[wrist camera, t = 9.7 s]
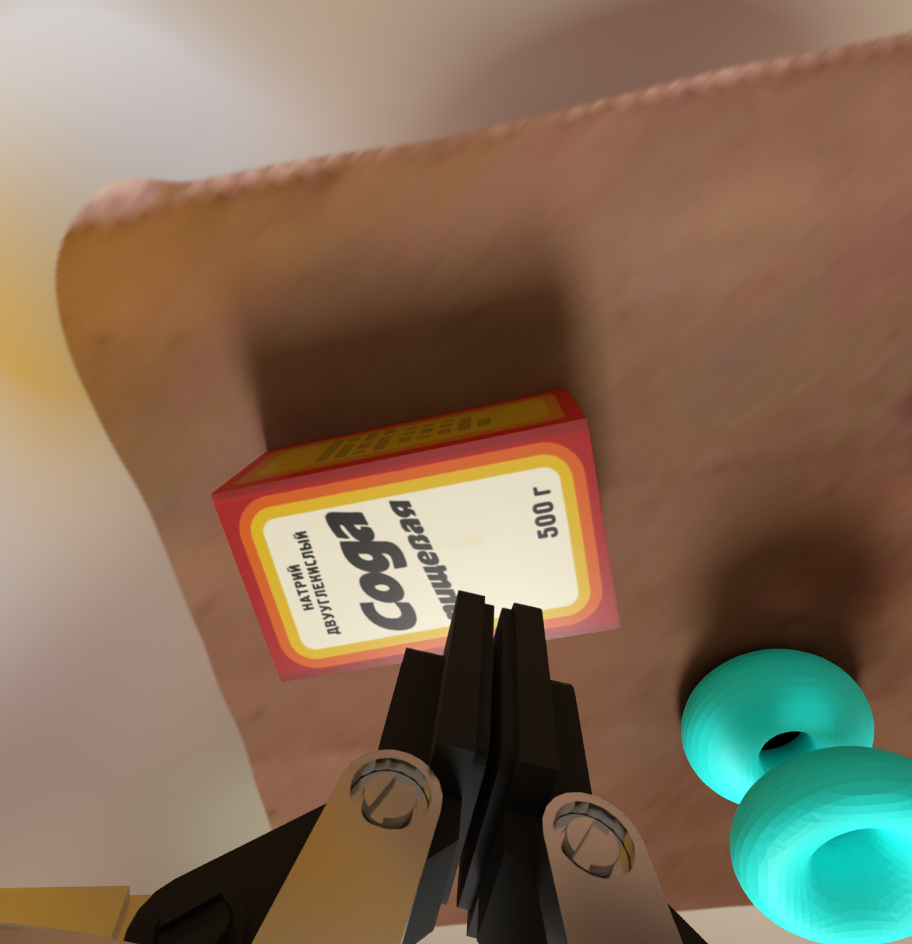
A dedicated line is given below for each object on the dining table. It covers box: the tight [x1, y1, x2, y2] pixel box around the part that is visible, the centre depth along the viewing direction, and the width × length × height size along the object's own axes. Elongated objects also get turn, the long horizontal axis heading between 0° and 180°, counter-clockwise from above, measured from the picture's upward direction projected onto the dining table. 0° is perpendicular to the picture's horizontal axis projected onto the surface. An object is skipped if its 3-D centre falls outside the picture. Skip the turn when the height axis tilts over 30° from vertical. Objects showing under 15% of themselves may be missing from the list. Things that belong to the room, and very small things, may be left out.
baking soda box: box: [211, 388, 620, 682], centre depth 28 cm, size 10×6×16 cm
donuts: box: [681, 649, 912, 944], centre depth 29 cm, size 10×10×10 cm
